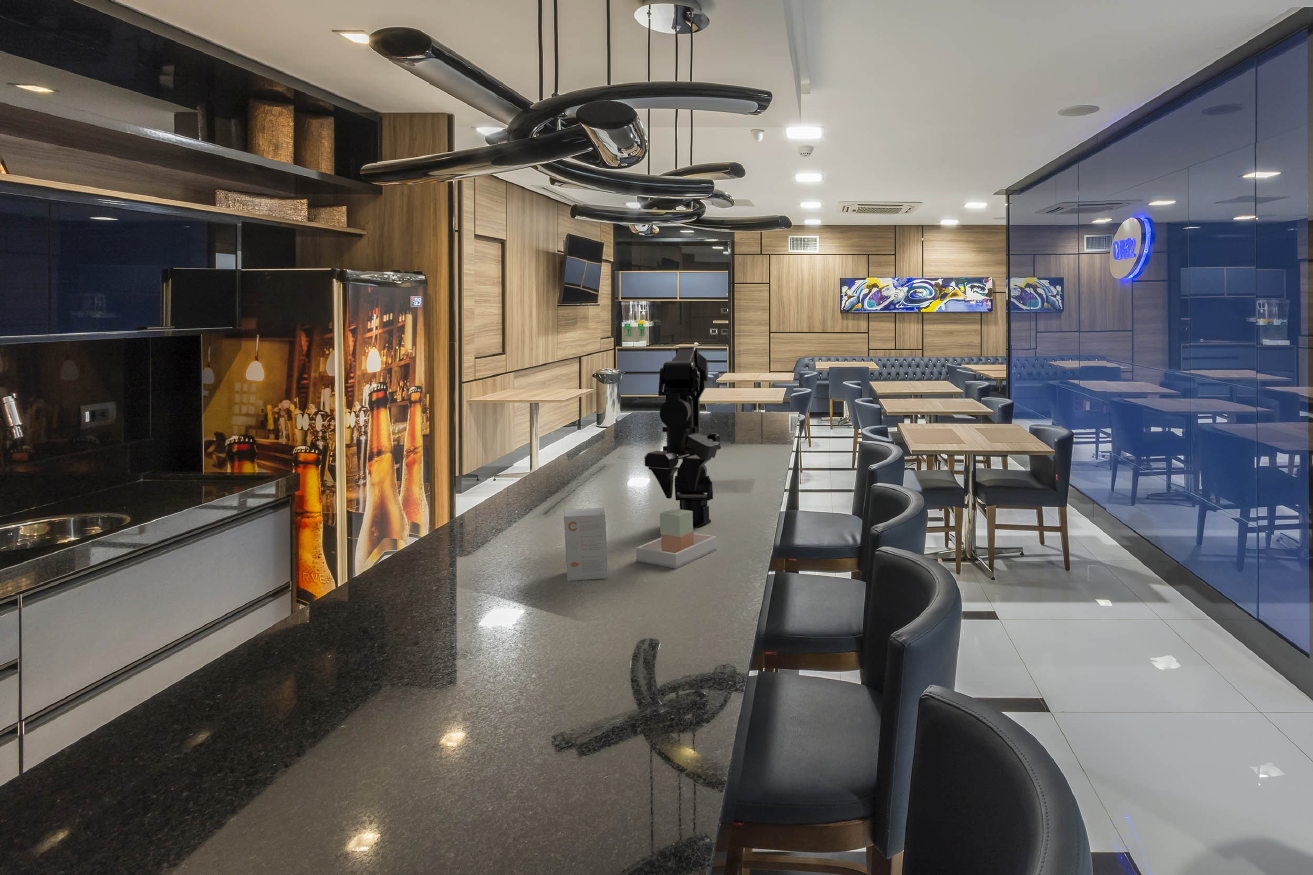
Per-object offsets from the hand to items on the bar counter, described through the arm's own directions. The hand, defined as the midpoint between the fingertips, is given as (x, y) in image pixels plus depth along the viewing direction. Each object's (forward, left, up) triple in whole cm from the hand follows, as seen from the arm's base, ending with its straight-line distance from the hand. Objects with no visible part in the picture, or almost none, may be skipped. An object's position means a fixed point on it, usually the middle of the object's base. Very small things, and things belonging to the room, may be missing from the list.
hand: (681, 494), depth 175 cm
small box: (-8, -22, -13) cm, 27 cm away
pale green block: (0, -2, -8) cm, 8 cm away
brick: (0, -2, -12) cm, 13 cm away
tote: (0, -2, -13) cm, 13 cm away
